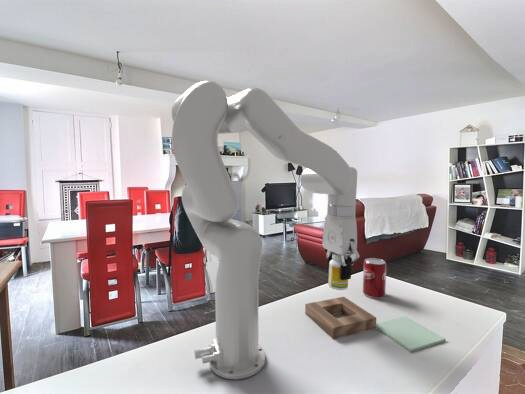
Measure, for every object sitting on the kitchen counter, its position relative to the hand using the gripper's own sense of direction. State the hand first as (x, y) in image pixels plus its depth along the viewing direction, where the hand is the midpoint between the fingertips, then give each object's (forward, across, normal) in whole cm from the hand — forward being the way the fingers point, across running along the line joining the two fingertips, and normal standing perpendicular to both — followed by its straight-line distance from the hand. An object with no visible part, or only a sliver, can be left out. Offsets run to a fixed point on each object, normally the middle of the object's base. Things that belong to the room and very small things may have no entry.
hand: (338, 274), depth 79 cm
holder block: (+14, 0, +1) cm, 14 cm away
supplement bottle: (+4, 0, 0) cm, 4 cm away
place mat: (+13, +12, +14) cm, 23 cm away
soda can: (+13, -10, +23) cm, 28 cm away
